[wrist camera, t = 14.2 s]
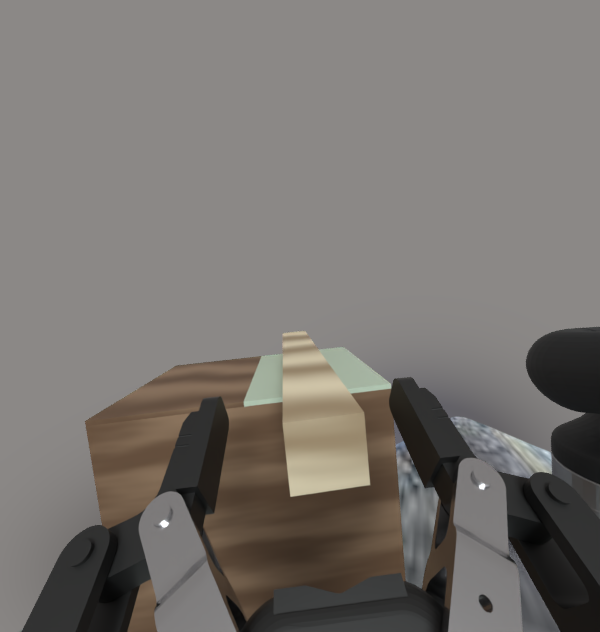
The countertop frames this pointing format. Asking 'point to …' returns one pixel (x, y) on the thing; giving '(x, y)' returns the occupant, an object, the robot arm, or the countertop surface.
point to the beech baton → (320, 423)
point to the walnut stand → (255, 480)
